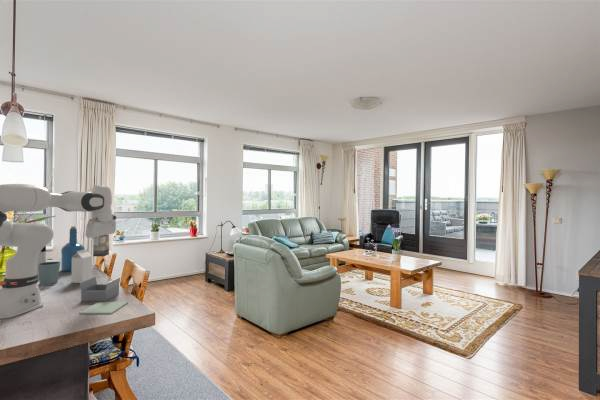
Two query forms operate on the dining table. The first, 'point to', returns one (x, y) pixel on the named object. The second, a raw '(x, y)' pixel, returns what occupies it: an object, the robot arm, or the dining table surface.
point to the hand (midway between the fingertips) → (101, 244)
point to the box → (101, 246)
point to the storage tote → (99, 290)
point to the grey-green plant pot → (48, 273)
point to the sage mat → (103, 308)
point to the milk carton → (81, 266)
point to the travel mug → (41, 258)
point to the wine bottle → (70, 250)
